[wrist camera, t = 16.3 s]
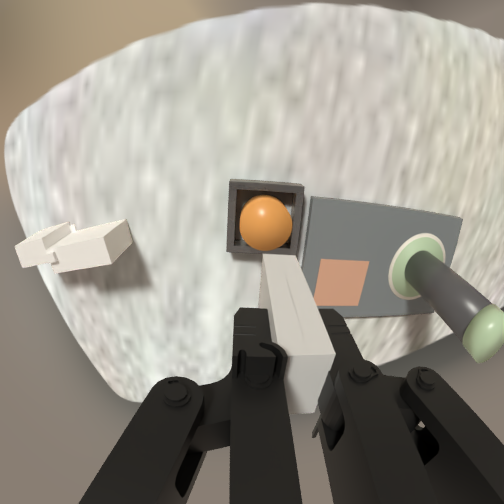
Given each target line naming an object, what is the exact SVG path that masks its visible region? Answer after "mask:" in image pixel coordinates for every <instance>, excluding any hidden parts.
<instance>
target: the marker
mask: <svg viewBox="0 0 504 504" xmlns="http://www.w3.org/2000/svg"><path fill="white" fill-rule="evenodd" d="M404 274H405V279H406V280H407V282H408V283H409V284H410V285H411V286H412V287H413V288H414V289H415V290H416V291H417V292H418V293H419V294H420V295H421V296H422V297H423V298H424V300H425V301H426V302H427V303H428V304H429V305H430V306H431V307H432V308H433V309H434V310H435V312H436V313H437V314H438V315H439V316H440V317H441V318H442V319H443V321H444V322H445V323H446V324H447V325H448V326H449V327H450V329H451V330H452V331H453V332H454V333H455V334H456V336H457V337H458V338H459V339H460V340H461V341H462V343H463V346H464V347H465V348H466V350H467V351H468V352H469V353H470V355H471V356H472V357H473V358H474V360H475V361H476V362H477V363H483V362H485V361H487V360H488V359H490V358H491V357H492V356H493V355H495V353H497V351H498V350H499V349H500V348H501V347H502V345H503V344H504V312H503V311H501V310H500V309H499V308H498V307H497V306H496V305H494V304H492V303H491V302H490V301H489V300H488V299H486V298H485V297H484V296H483V295H482V294H481V293H480V292H478V291H477V290H476V289H475V288H474V287H473V286H471V285H470V284H469V283H468V282H467V281H465V280H464V279H463V278H462V277H461V276H459V275H458V274H457V273H456V272H454V271H453V270H452V269H451V268H449V267H448V266H447V265H446V264H444V263H443V262H442V261H440V260H439V259H438V258H436V257H435V256H434V255H432V254H431V253H430V252H428V251H425V250H422V251H418V252H416V253H415V254H414V255H413V256H411V258H410V259H409V260H408V262H407V264H406V267H405V272H404Z"/></svg>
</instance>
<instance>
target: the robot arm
mask: <svg viewBox="0 0 504 504" xmlns="http://www.w3.org/2000/svg"><path fill="white" fill-rule="evenodd" d="M258 306H259V308H239V310H238V311H237V312H236V314H235V315H234V331H233V356H232V368H231V370H230V372H229V374H228V375H227V376H226V377H225V378H223V379H222V380H220V381H218V382H215V383H211V384H206V385H201V386H199V385H198V384H197V383H196V382H195V381H192V380H190V379H188V378H185V377H177V376H176V377H169V378H165V379H163V380H161V381H159V382H157V383H156V384H155V385H154V386H153V387H152V389H151V390H150V392H149V393H148V395H147V397H146V398H145V400H144V401H143V403H142V404H141V406H140V407H139V409H138V411H137V412H136V414H135V415H134V417H133V418H132V420H131V421H130V423H129V425H128V426H127V428H126V429H125V431H124V433H123V434H122V436H121V437H120V439H119V440H118V442H117V444H116V445H115V446H114V448H113V450H112V451H111V453H110V455H109V456H108V457H107V459H106V461H105V462H104V464H103V465H102V467H101V469H100V470H99V472H98V473H97V475H96V477H95V478H94V480H93V481H92V483H91V485H90V486H89V488H88V489H87V491H86V492H85V494H84V496H83V497H82V499H81V501H80V502H79V504H186V503H187V500H188V498H189V495H190V493H191V490H192V488H193V485H194V483H195V480H196V478H197V476H198V473H199V471H200V468H201V466H202V463H203V461H204V458H205V456H206V453H207V451H209V450H214V449H218V448H223V447H227V446H230V504H302V498H301V491H300V484H299V477H298V470H297V463H296V457H295V450H294V444H293V437H292V430H291V424H290V417H289V414H301V413H314V412H315V409H316V406H317V404H318V405H319V409H320V413H321V415H320V417H319V419H318V421H317V423H316V426H315V428H314V430H313V432H312V438H315V437H316V435H317V433H318V431H319V435H320V439H321V444H322V449H323V453H324V457H325V463H326V467H327V472H328V477H329V482H330V487H331V492H332V497H333V502H334V504H504V445H503V444H502V443H501V442H500V440H499V439H498V438H497V437H496V436H495V435H494V433H493V432H492V431H491V430H490V429H489V428H488V427H487V426H486V424H485V423H484V422H483V421H482V420H481V419H480V418H479V417H478V416H477V414H476V413H475V412H474V411H473V410H472V409H471V408H470V407H469V406H468V405H467V404H466V403H465V402H464V400H463V399H462V398H461V397H460V396H459V395H458V394H457V393H456V392H455V391H454V390H453V389H452V388H451V387H450V386H449V385H448V383H447V382H446V381H445V380H444V379H443V378H442V377H441V376H440V375H439V374H438V373H436V372H435V371H434V370H432V369H429V368H427V367H416V368H413V369H411V370H410V371H409V372H408V374H407V376H406V377H405V378H402V377H394V376H386V375H383V374H382V373H381V371H380V370H379V368H378V367H377V366H376V365H375V364H373V363H372V362H370V361H367V360H364V359H363V357H362V355H361V353H360V351H359V349H358V347H357V345H356V343H355V341H354V339H353V337H352V335H351V334H350V331H349V328H348V327H347V325H346V323H345V321H344V319H343V317H342V315H340V314H339V313H338V312H337V311H336V310H335V309H318V308H317V306H316V303H315V301H314V298H313V296H312V293H311V291H310V289H309V286H308V284H307V281H306V279H305V277H304V274H303V272H302V270H301V267H300V265H299V263H298V260H297V258H296V256H295V255H277V254H263V259H262V270H261V281H260V292H259V303H258ZM420 421H422V422H423V424H424V425H425V427H424V428H422V427H420V426H418V424H419V422H420Z"/></svg>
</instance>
